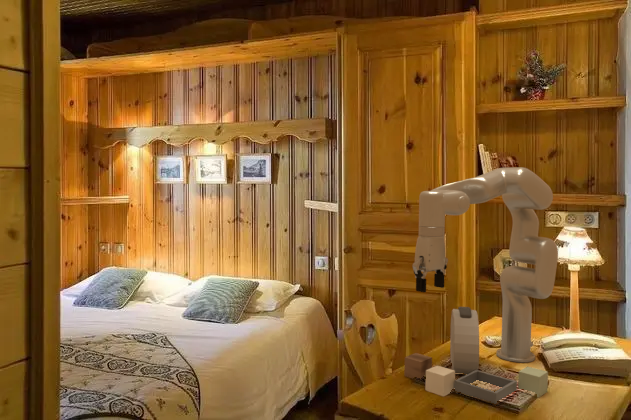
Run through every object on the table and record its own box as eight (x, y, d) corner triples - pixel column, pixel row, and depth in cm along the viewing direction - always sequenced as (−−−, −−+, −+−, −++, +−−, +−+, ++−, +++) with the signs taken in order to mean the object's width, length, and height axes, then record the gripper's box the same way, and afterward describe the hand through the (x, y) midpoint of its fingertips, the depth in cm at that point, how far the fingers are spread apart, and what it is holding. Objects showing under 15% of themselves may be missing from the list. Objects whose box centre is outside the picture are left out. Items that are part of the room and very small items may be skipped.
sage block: (526, 386, 158) (527, 366, 157) (547, 392, 153) (548, 371, 153) (518, 391, 154) (518, 371, 153) (538, 397, 149) (539, 377, 149)
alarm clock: (478, 380, 161) (480, 316, 160) (453, 378, 163) (454, 315, 162) (472, 358, 182) (473, 301, 181) (450, 356, 184) (451, 300, 183)
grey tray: (476, 381, 161) (476, 369, 161) (516, 393, 152) (516, 381, 152) (454, 392, 152) (454, 380, 152) (495, 405, 143) (496, 393, 143)
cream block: (436, 385, 158) (437, 365, 157) (454, 391, 154) (455, 370, 153) (425, 390, 154) (425, 370, 153) (443, 396, 149) (443, 375, 149)
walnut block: (415, 371, 169) (415, 352, 169) (431, 376, 165) (432, 357, 165) (404, 376, 165) (404, 357, 165) (420, 381, 161) (421, 362, 160)
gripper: (436, 229, 166) (435, 283, 167) (403, 233, 154) (402, 291, 155) (457, 231, 161) (456, 287, 162) (425, 235, 149) (424, 295, 150)
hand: (430, 289), depth 158 cm, fingers open, 9 cm apart
